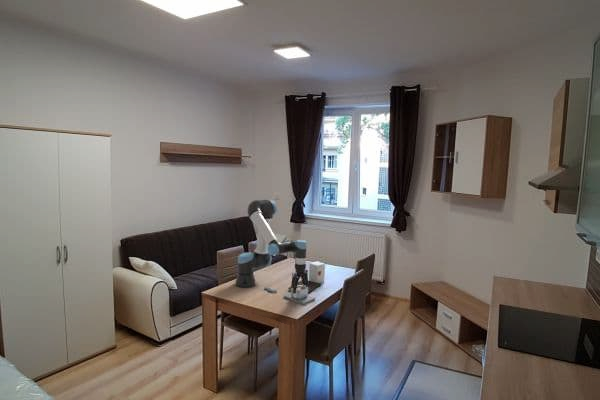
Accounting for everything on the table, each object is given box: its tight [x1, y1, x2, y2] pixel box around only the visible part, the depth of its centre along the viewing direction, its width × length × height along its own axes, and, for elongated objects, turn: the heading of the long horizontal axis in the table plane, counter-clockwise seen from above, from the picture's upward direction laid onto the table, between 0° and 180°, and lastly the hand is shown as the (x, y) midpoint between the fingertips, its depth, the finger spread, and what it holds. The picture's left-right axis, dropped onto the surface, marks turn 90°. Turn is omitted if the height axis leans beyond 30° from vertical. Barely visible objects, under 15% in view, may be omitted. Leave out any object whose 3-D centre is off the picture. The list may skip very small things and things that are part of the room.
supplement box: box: [308, 260, 326, 284], centre depth 268 cm, size 9×9×15 cm
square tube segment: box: [290, 285, 309, 299], centre depth 232 cm, size 8×8×6 cm
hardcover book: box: [287, 279, 322, 295], centre depth 255 cm, size 16×23×2 cm
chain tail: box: [263, 286, 278, 294], centre depth 246 cm, size 12×4×1 cm, turn 49°
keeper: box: [283, 287, 316, 306], centre depth 232 cm, size 18×12×8 cm, turn 49°
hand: (299, 295), depth 233 cm, fingers closed on square tube segment, 8 cm apart
